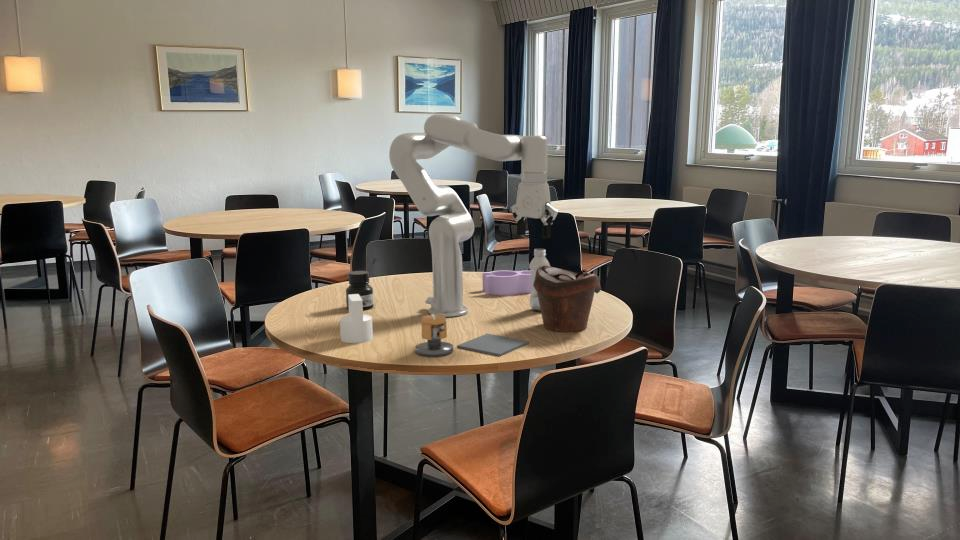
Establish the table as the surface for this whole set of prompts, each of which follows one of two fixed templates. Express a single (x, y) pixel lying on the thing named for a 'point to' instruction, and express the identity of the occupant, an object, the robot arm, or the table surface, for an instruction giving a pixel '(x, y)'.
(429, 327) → the orange ellipsoid with prongs
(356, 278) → the ink bottle
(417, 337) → the table surface
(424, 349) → the grey post on disc
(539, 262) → the plastic bottle
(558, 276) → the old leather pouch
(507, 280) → the clip
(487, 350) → the mat
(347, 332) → the cylinder with rectangular tab
